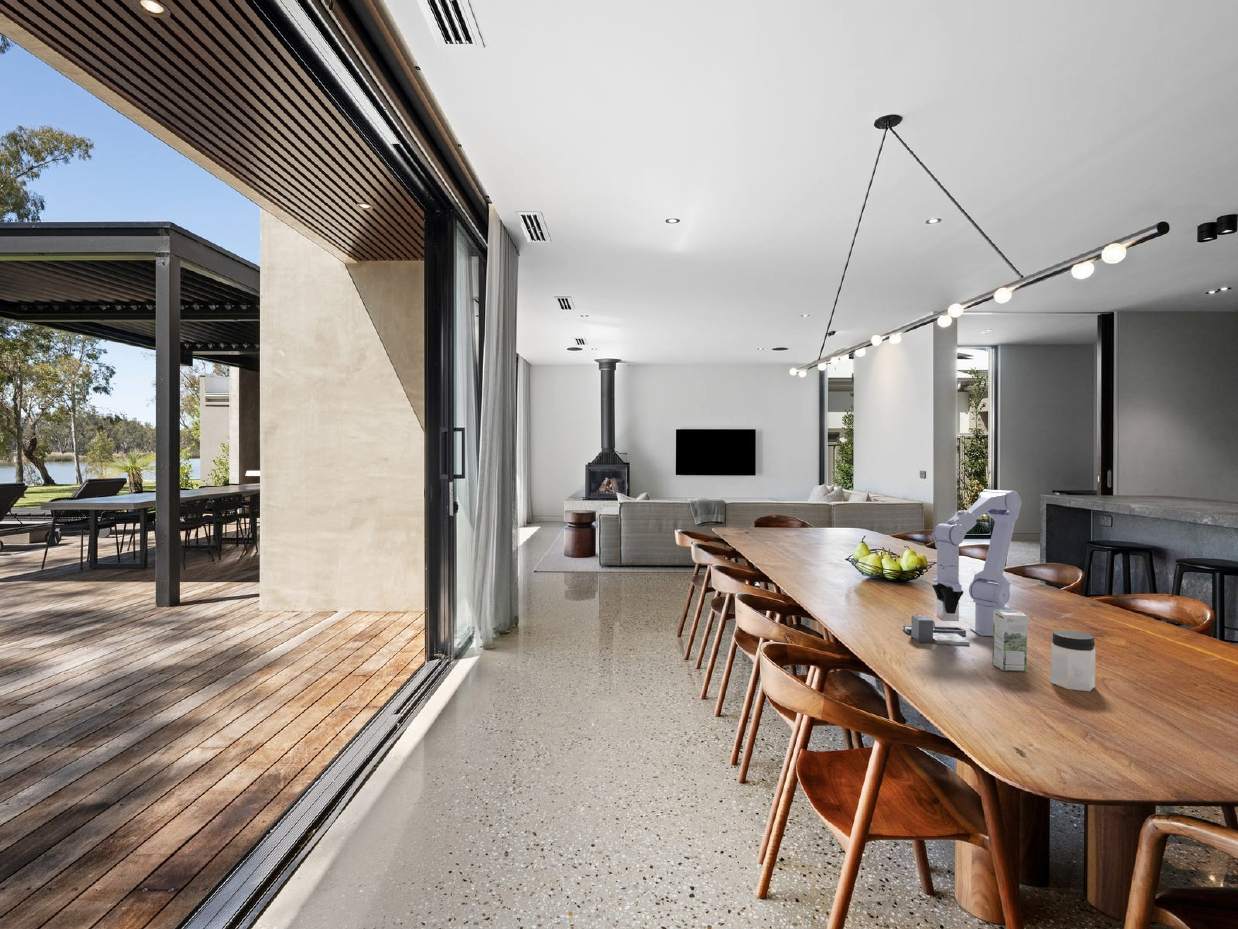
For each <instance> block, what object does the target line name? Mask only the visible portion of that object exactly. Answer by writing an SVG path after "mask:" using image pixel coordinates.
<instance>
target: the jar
mask: <svg viewBox="0 0 1238 929" xmlns="http://www.w3.org/2000/svg"><path fill="white" fill-rule="evenodd" d="M1095 644H1096V642H1095V637H1094V636H1093V635H1092V634H1088V633H1087V632H1081V631H1075V630H1066V629H1059V630H1058V629H1057V630H1054V631H1052V643H1051V645H1050V683H1051V684H1053V685H1055V684H1056V686H1059V687H1061V688H1062V689H1066V690H1069V691H1070V690H1071V691H1080V692H1082V691H1083V692H1091V691H1092V690H1093V689H1094V688H1096V647H1095Z"/></svg>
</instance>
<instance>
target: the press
mask: <svg viewBox="0 0 1238 929" xmlns="http://www.w3.org/2000/svg"><path fill="white" fill-rule="evenodd" d="M905 627H912V629H908V630H907V632H906V631H905ZM902 628H903V631H904V632H906V633H908V634H907V635H911V638H912V637H913V639H914V640H915V641H916V640H917V641H918V643H919V642H924V643H925V642H926V643H925V644H933V643H934V644H935V643H936V645H937V644H951V645H950V646H966V645H970V646H971V642H970V641H969V640H967V639H966V638H965V637H964V636H966V635H967V630H966V629H964V628H962V627H960V626H959V627H958V626H941V625H940V626H937V625H936V623H935V621H934V620H933V619H931V618H930V617H929V616H928V615H924V614H922V615H915V614H914V615H913V614H912V615H911V625H906V624H905V625H903V626H902ZM917 641H916V642H917Z"/></svg>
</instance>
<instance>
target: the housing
mask: <svg viewBox="0 0 1238 929" xmlns="http://www.w3.org/2000/svg"><path fill="white" fill-rule="evenodd" d="M936 618H937V619H939V620H940V621H942V622H960V602H958V605H957V608H956V612H955V614H948V613H947V612H946V607H945V600H944V599H937V598H936Z"/></svg>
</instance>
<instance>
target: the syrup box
mask: <svg viewBox="0 0 1238 929" xmlns="http://www.w3.org/2000/svg"><path fill="white" fill-rule="evenodd" d="M1028 619H1029V616H1027V614H1025V613H1023V611H1020V610H1016V609H1015V610H1014V609H1011V610H994V613H993V636H992V658H991V659H992V660H991V661H992V664H994V665H993V666H995V668H996V667H997V668H998V667H999V668H1000V669H999V668H998V669H999V670H1001V671H1003V672H1020V673H1021V672H1025V673H1026V672H1027V659H1028V658H1027V657H1028V656H1027V654H1028V653H1027V652H1028V621H1029V620H1028Z"/></svg>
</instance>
